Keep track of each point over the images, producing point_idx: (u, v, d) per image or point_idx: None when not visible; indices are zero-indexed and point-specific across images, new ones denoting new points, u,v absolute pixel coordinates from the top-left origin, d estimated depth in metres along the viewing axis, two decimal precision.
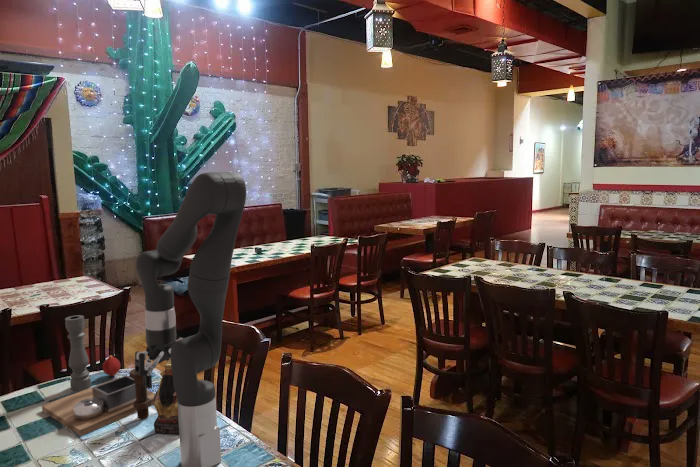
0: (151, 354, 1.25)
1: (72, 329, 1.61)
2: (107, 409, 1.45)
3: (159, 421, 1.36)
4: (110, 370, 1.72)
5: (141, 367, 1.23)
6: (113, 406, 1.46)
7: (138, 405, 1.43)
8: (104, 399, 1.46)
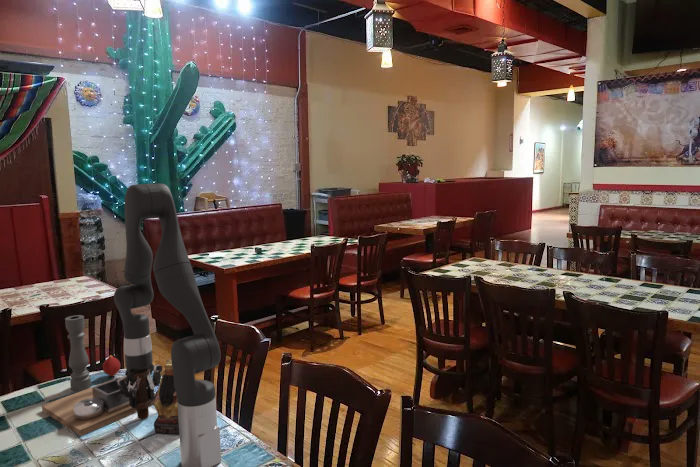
0: (130, 377, 1.41)
1: (72, 329, 1.61)
2: (107, 409, 1.45)
3: (159, 421, 1.36)
4: (110, 370, 1.73)
5: (125, 391, 1.39)
6: (113, 406, 1.46)
7: (138, 405, 1.43)
8: (104, 399, 1.46)
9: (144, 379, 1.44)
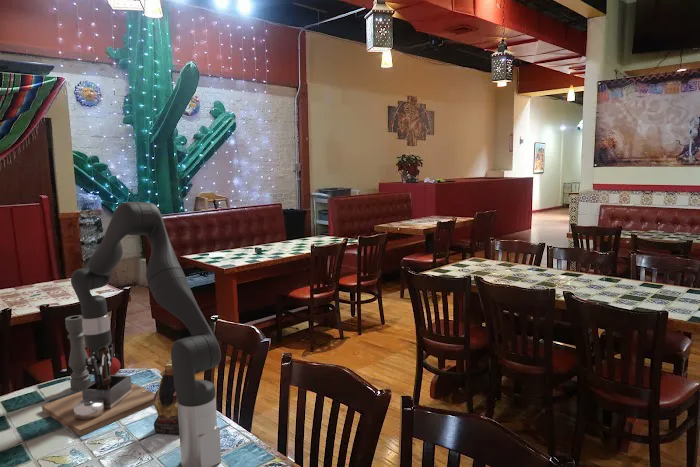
0: (97, 355, 1.48)
1: (72, 329, 1.61)
2: (108, 405, 1.48)
3: (159, 421, 1.36)
4: (110, 370, 1.72)
5: (96, 368, 1.47)
6: (113, 401, 1.49)
7: (104, 381, 1.51)
8: (103, 396, 1.47)
9: None
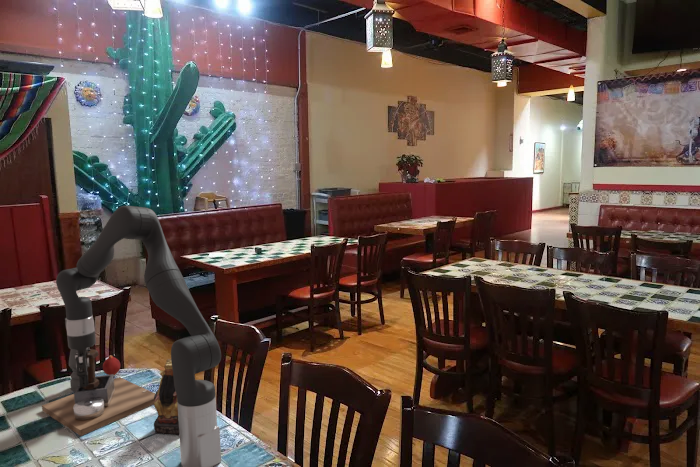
0: (85, 356, 1.47)
1: None
2: (106, 403, 1.49)
3: (159, 421, 1.36)
4: (110, 370, 1.72)
5: (86, 367, 1.45)
6: (109, 399, 1.51)
7: (95, 383, 1.51)
8: (100, 395, 1.48)
9: None
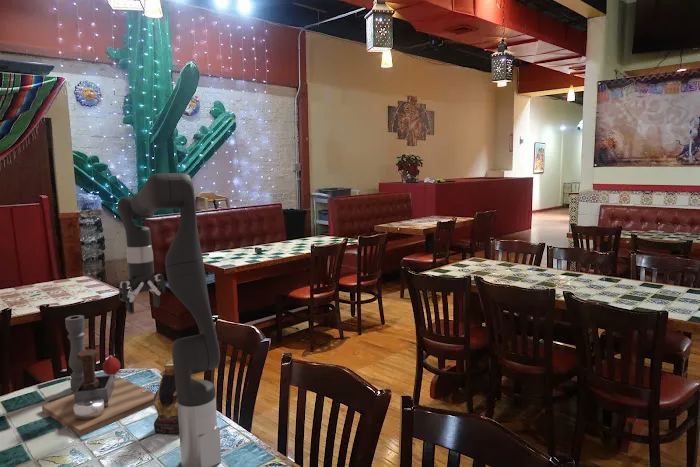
0: (132, 284, 1.49)
1: (72, 329, 1.61)
2: (106, 403, 1.49)
3: (159, 421, 1.36)
4: (110, 370, 1.72)
5: (124, 294, 1.47)
6: (109, 399, 1.51)
7: (94, 383, 1.51)
8: (100, 395, 1.48)
9: None
